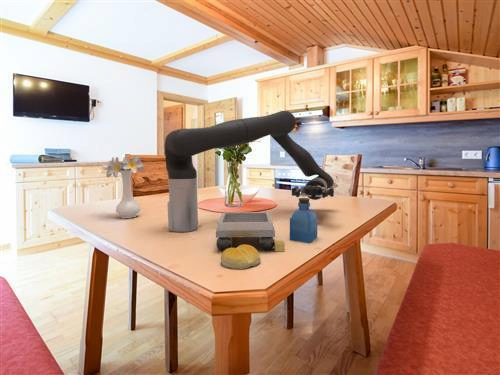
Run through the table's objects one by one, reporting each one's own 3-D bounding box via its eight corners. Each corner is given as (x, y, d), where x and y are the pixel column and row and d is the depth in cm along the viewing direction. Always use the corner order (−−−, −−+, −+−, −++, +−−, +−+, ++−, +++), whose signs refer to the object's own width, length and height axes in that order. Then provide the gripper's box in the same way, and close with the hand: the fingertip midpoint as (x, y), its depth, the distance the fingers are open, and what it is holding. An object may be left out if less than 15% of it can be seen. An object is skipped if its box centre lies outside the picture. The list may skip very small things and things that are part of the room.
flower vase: (119, 213, 126) (116, 155, 124) (155, 215, 121) (153, 155, 118) (95, 219, 114) (91, 155, 111) (135, 222, 109) (131, 155, 106)
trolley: (216, 252, 73) (215, 223, 73) (221, 236, 88) (221, 212, 87) (284, 251, 73) (284, 223, 73) (278, 235, 88) (278, 211, 88)
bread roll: (215, 261, 68) (214, 245, 67) (247, 254, 72) (247, 239, 72) (231, 273, 61) (231, 255, 60) (266, 265, 65) (266, 248, 65)
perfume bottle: (310, 243, 81) (310, 200, 79) (289, 240, 84) (289, 199, 83) (317, 237, 86) (317, 198, 85) (297, 235, 89) (298, 196, 88)
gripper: (297, 178, 111) (288, 182, 96) (335, 178, 106) (332, 183, 91) (297, 197, 112) (288, 204, 97) (335, 198, 107) (332, 206, 92)
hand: (310, 194), depth 94 cm, fingers open, 8 cm apart
